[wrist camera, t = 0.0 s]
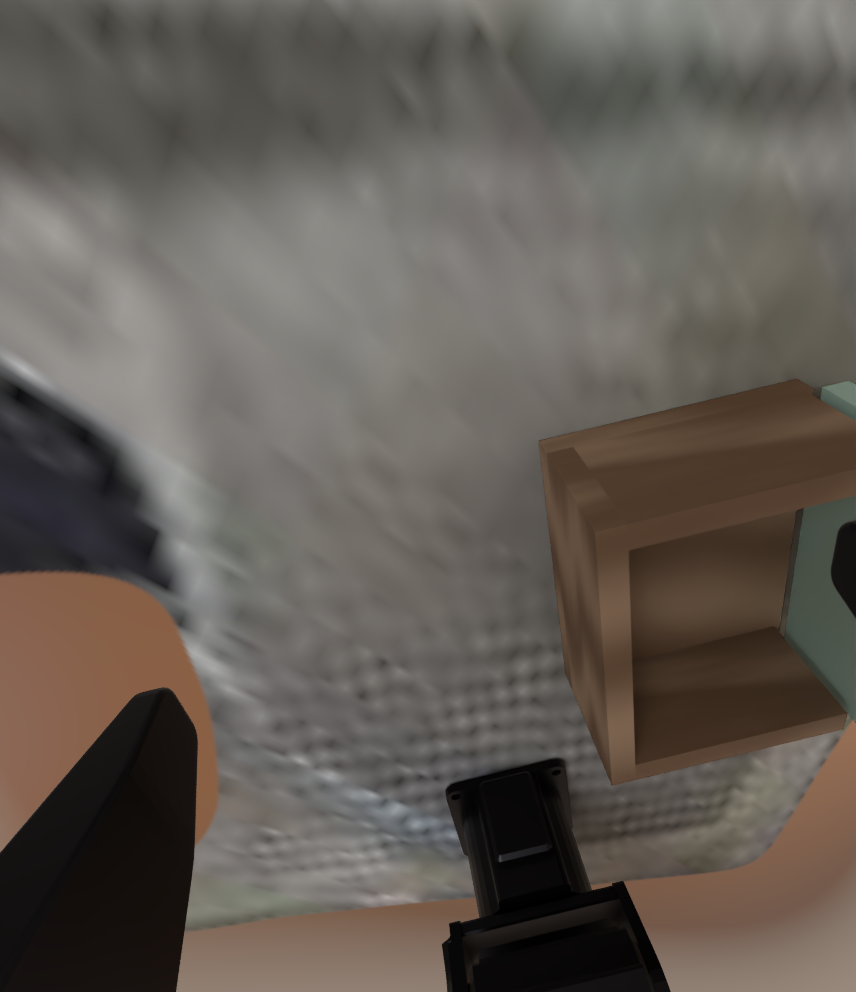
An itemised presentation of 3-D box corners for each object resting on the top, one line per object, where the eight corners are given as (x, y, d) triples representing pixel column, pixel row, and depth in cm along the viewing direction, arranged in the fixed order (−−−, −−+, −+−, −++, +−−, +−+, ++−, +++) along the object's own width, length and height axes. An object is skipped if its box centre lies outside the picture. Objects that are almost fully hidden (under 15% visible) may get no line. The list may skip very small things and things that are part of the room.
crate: (765, 625, 31) (850, 727, 26) (565, 673, 31) (611, 785, 26) (797, 378, 24) (921, 453, 19) (538, 440, 24) (595, 532, 19)
